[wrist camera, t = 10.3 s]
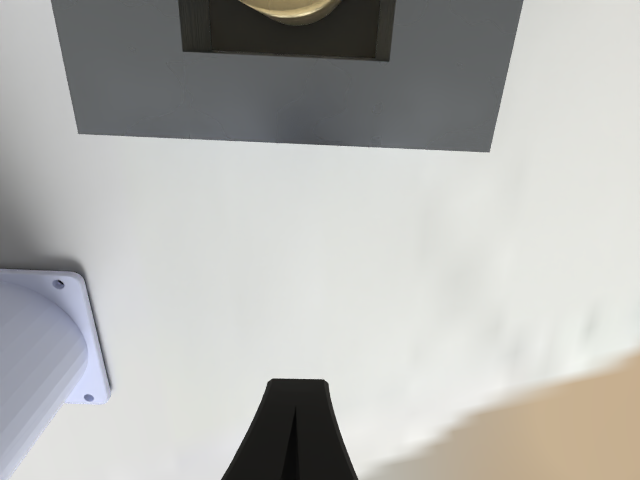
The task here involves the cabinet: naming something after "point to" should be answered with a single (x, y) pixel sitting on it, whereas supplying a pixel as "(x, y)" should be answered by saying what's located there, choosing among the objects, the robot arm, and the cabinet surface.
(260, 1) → the bushing
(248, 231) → the cabinet surface
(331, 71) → the block
